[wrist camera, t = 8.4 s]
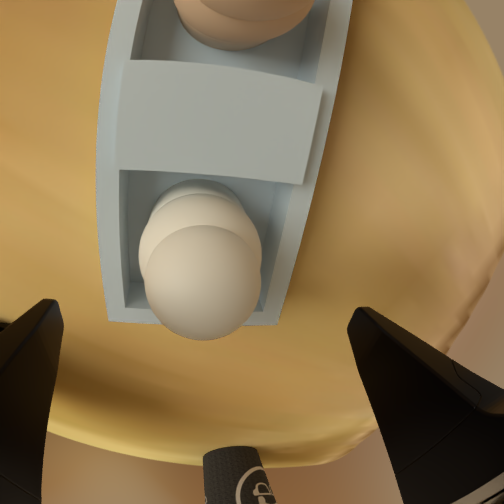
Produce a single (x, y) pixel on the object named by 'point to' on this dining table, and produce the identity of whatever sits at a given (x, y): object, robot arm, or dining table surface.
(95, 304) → the dining table surface
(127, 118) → the egg carton
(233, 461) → the coffee cup
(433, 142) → the dining table surface
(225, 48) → the brown egg
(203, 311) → the cream egg
